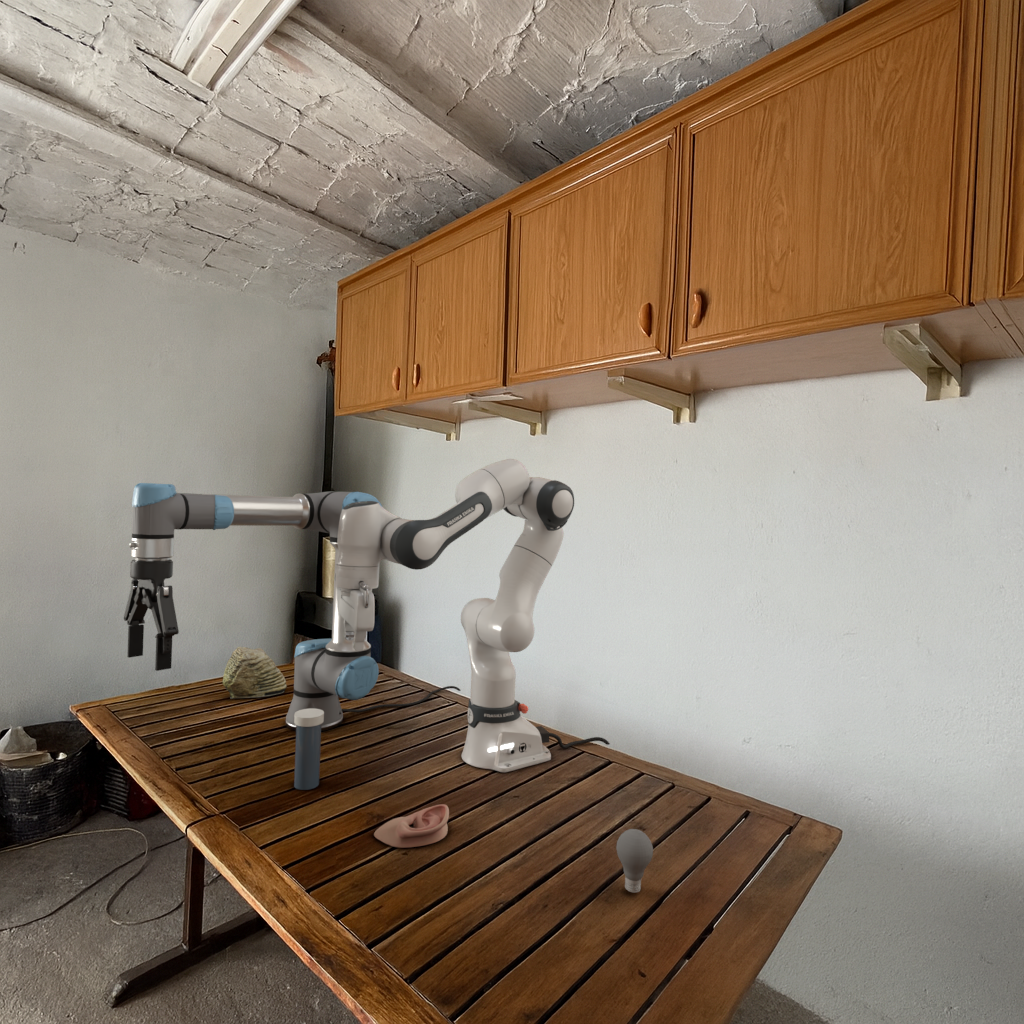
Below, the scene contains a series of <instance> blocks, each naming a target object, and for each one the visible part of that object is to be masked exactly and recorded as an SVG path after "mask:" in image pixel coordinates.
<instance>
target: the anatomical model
mask: <svg viewBox="0 0 1024 1024" xmlns="http://www.w3.org/2000/svg"><path fill="white" fill-rule="evenodd" d="M449 817H450V809H449V807H448V805H447V804H443V803H442V804H435V805H432V806H429V807H426V808H423V809H421V810H418V811H416V812H413V813H411V814H409V815H407V816H400V817H395V818H392V819H390V820H388V821H386V822H384V823H383V824H382V825H380V826H379V827H378V828H377V829H376V830H375V832H374V833H373V836H374V837H375V839H377V840H378V841H380V842H382V843H384V844H385V845H388V846H391V847H394V848H398V849H399V848H400V849H403V848H414V847H415V848H416V847H423V846H428V845H431V844H434V843H437V842H439V841H441V840H443V839H444V838H446V836H447V835H448V832H449V831H448V829H449V826H448V824H447V823H448V821H449Z"/></svg>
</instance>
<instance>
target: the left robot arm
mask: <svg viewBox="0 0 1024 1024" xmlns="http://www.w3.org/2000/svg"><path fill="white" fill-rule="evenodd" d="M362 501H364V502H365V501H375V502H378V503H379V504H380V506H382V507H383V505H382V503H381V502H380V501H379V500H378V498H377V497H375V495H373V494H370V493H367V492H363V491H362V492H361V491H337V490H336V491H335V490H333V491H332V490H330V491H321V492H311V493H295V494H294V495H293V496H276V495H275V496H274V495H273V496H272V495H248V494H247V495H246V494H244V495H243V494H220V493H219V494H218V493H217V494H216V493H215V494H214V493H189V492H187V493H186V492H177V491H176V486H175V485H174V484H173V483H152V482H139V483H137V484H136V485H135V486H134V488H133V492H132V501H131V520H132V521H131V542H130V543H128V547H129V548H130V549H131V550H130V556H131V558H133V559H132V560H131V561H130V567H129V568H130V571H129V574H130V575H129V576H130V578H131V581H130V590H129V594H128V598H127V603H126V607H125V610H124V615H123V621H124V622H126V624H127V626H128V629H127V630H128V631H127V658H135V657H142V656H144V635H145V634H144V630H145V625H144V624H145V623H146V621H145V619H144V618H145V616H146V615H147V612H148V609H149V610H151V613H152V618H153V620H154V624H155V627H156V631H157V633H156V635H155V636H154V638H155V661H154V663H155V665H154V668H155V669H154V670H155V671H157V672H159V671H164V670H169V669H172V659H173V657H172V655H173V637H175V636H176V635H179V632H180V631H179V625H178V619H177V615H176V614H177V613H176V609H175V603H174V597H173V595H174V593H173V585H165V580H167V579H171V578H172V577H173V575H174V573H173V572H174V561H173V560H172V559H171V558H173V557H174V554H175V553H174V552H175V530H213V531H215V530H224V529H228V528H230V526H233V527H234V526H237V527H238V526H240V527H243V526H246V527H247V526H249V527H250V526H258V527H259V526H268V527H269V526H276V527H277V526H282V527H284V526H285V527H286V526H287V527H288V526H289V527H290V526H291V527H293V528H294V529H296V530H308V531H309V530H310V531H316V532H319V533H325V534H329V544H330V545H331V546H332V547H333V548H334V550H335V551H334V572H333V573H334V577H333V599H332V625H331V626H332V627H331V638H317V639H308V640H304V641H300V642H299V643H297V645H296V646H295V650H294V655H293V657H294V672H293V673H294V674H293V695H292V696H293V697H292V699H291V702H290V704H289V708H288V711H287V713H286V715H285V726H286V728H287V729H289V730H291V731H294V732H296V725H295V724H294V715H295V712H297V711H299V710H302V709H310V708H314V709H320V710H323V711H324V722H323V723H322V724H321V732H325V731H329V730H332V729H335V728H337V727H339V726H340V725H342V723H343V722H344V714H343V712H344V713H346V712H347V713H348V712H349V713H363V712H367V711H371V710H374V709H380V708H398V707H409V706H414V705H418V704H420V703H422V702H424V701H427V700H428V699H429V698H430V697H431V695H433V694H435V693H439V692H441V691H444V690H448V689H454V690H457V692H461V688H459V687H457V686H455V685H447V686H443V687H440V688H437V689H435V690H432V691H430V692H429V693H428V694H427V695H426V696H425V697H423V698H421V699H419V700H415V701H413V702H409V703H408V702H407V703H389V704H388V703H386V704H384V703H383V704H377V705H373V706H369V707H366V708H362V709H361V708H360V709H353V708H342V706H341V702H340V699H339V698H341V699H342V700H343V699H344V700H348V701H349V700H350V701H357V700H360V699H362V698H364V697H365V696H367V695H368V694H370V692H371V690H372V689H374V687H375V685H376V683H377V682H378V678H379V674H380V672H379V671H380V670H379V669H380V668H379V665H378V663H377V662H376V660H375V659H374V657H371V652H372V649H371V648H372V644H371V643H370V642H368V640H367V639H366V638H365V640H364V649H363V650H361V651H356V650H355V649H354V648H353V645H354V640H355V630H354V639H353V640H346V639H345V628H344V619H343V618H342V617H341V616H340V615H339V612H338V605H337V587H336V586H335V573H336V561H337V558H338V554H339V549H338V544H337V539H338V527H339V520H340V515H341V512H342V510H343V508H344V507H345V506H346V505H348V504H350V503H355V502H362Z"/></svg>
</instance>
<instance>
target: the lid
mask: <svg viewBox="0 0 1024 1024" xmlns="http://www.w3.org/2000/svg"><path fill="white" fill-rule="evenodd" d="M323 722H324V711H323V710H320V709H314V708H310V709H302V710H299V711H297V712H295V715H294V724H295V725H297V726H301V727H311V726H317V725H320V724H322V723H323Z"/></svg>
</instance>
